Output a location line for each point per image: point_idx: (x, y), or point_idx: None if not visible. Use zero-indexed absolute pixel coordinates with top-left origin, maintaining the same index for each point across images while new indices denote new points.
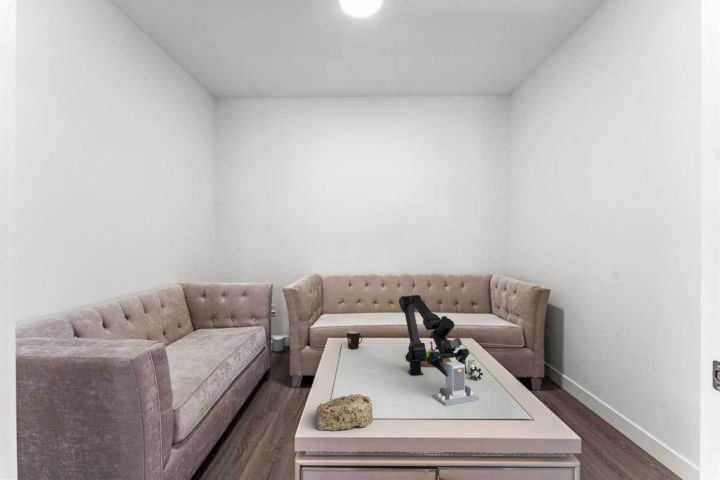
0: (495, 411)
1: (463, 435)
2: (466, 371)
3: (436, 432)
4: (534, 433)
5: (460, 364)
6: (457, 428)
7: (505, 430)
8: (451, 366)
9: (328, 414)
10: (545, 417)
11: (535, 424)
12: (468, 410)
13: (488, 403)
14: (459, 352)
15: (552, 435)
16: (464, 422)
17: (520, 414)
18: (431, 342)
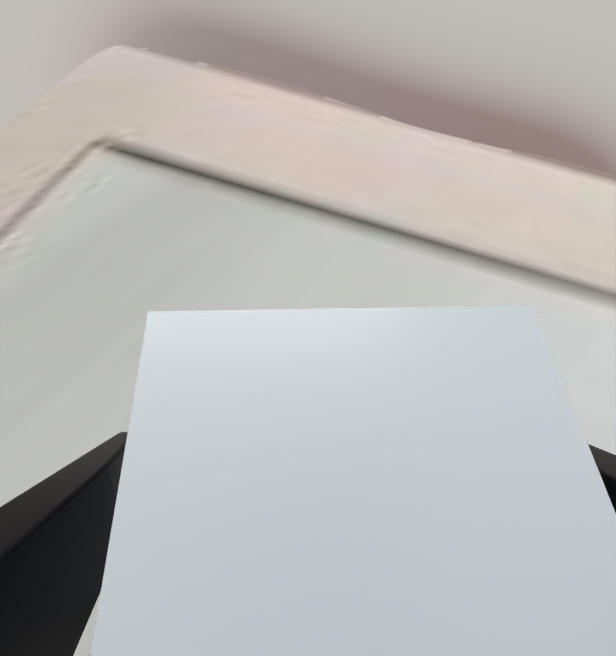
0: (191, 241)
1: (462, 148)
2: (108, 440)
3: (559, 190)
4: (204, 88)
5: (248, 365)
6: (465, 186)
7: (288, 126)
8: (538, 352)
9: None
10: (27, 136)
11: (135, 117)
12: (326, 294)
13: (139, 330)
14: None
15: (158, 66)
16: (413, 210)
17: (102, 184)
18: None
